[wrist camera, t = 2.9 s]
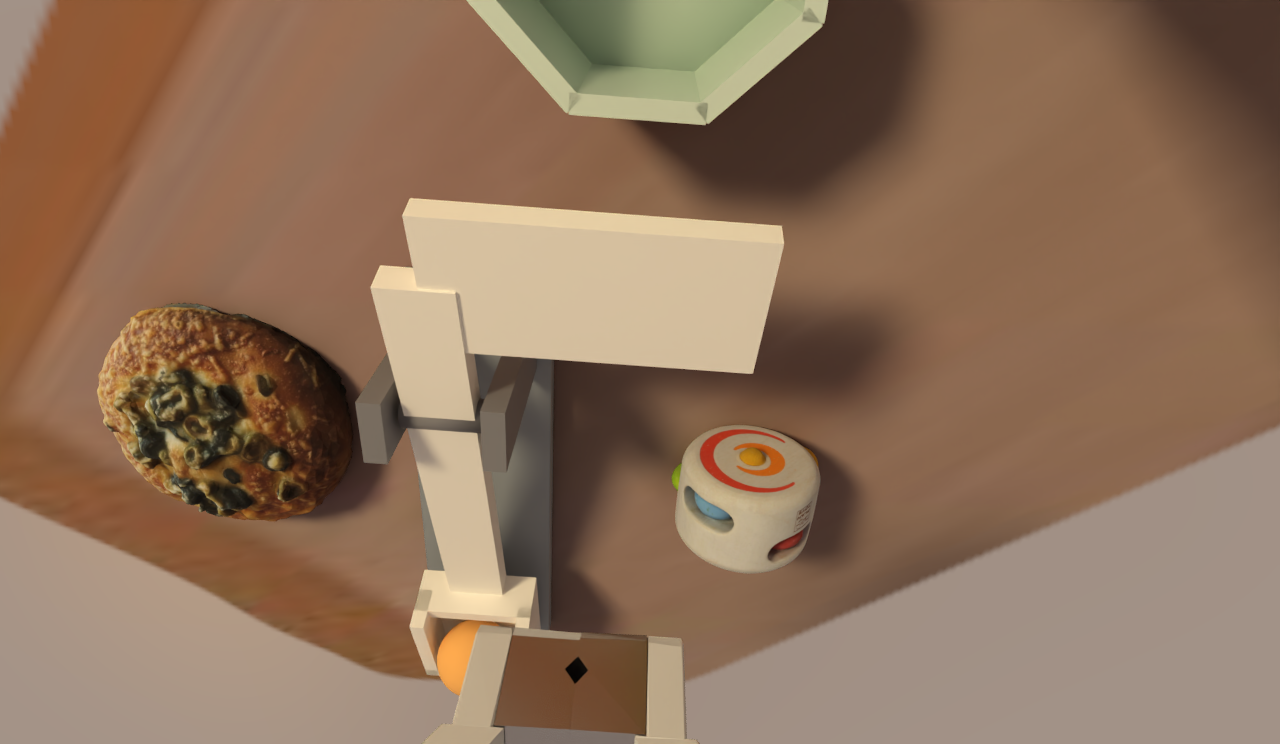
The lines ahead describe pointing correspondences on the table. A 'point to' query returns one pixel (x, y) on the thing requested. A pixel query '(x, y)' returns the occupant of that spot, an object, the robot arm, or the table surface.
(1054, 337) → the table surface
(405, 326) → the lever
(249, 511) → the bread roll
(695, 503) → the roller toy
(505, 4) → the cup
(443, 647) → the ball
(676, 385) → the table surface
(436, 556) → the catapult base
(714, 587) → the table surface
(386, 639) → the table surface
